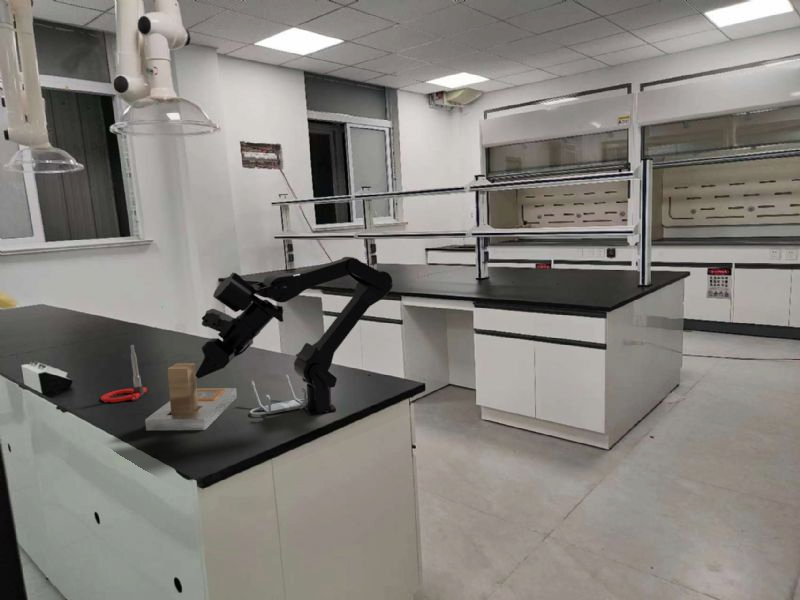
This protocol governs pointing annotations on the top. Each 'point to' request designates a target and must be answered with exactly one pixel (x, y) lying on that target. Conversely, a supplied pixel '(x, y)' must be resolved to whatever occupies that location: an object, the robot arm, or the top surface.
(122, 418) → the top surface
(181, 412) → the peg
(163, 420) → the grey peg hole board
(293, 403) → the wall mount rack
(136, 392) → the tow hook
